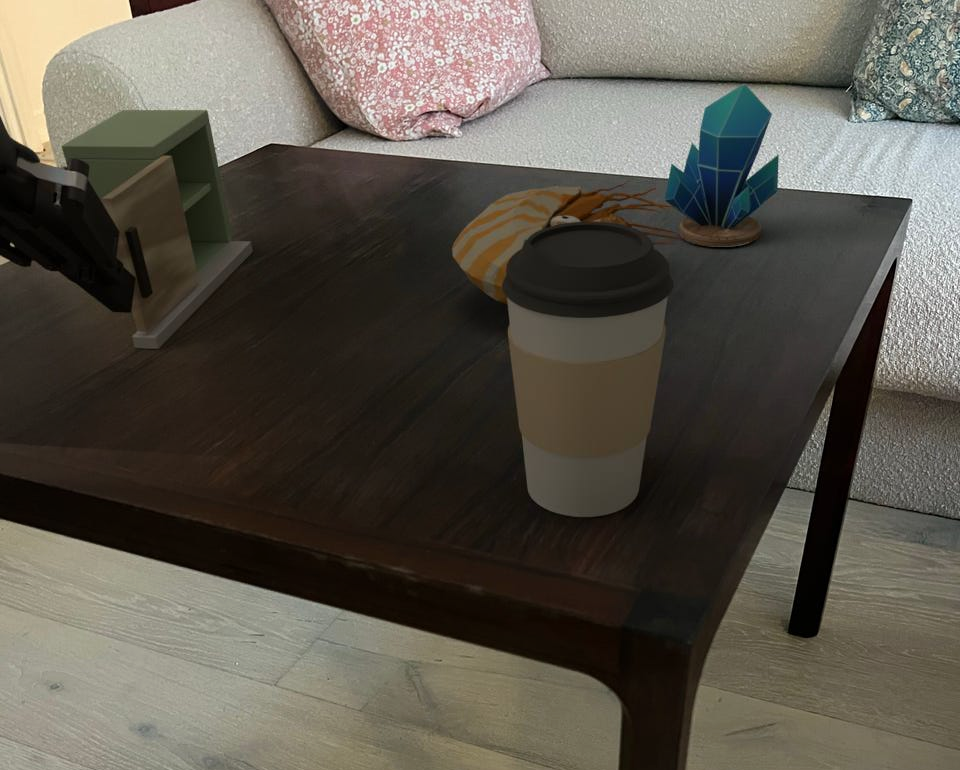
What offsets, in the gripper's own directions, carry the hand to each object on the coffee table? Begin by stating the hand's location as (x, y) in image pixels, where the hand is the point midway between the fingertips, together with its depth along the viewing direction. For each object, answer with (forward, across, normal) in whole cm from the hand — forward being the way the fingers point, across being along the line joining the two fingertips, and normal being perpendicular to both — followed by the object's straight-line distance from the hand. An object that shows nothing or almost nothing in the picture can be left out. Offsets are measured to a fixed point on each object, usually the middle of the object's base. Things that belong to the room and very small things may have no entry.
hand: (124, 294), depth 78 cm
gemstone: (+24, -43, -17) cm, 52 cm away
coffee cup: (-7, -36, +14) cm, 39 cm away
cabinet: (+12, +4, -5) cm, 13 cm away
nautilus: (+14, -32, -7) cm, 36 cm away
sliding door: (+7, 0, -2) cm, 7 cm away
